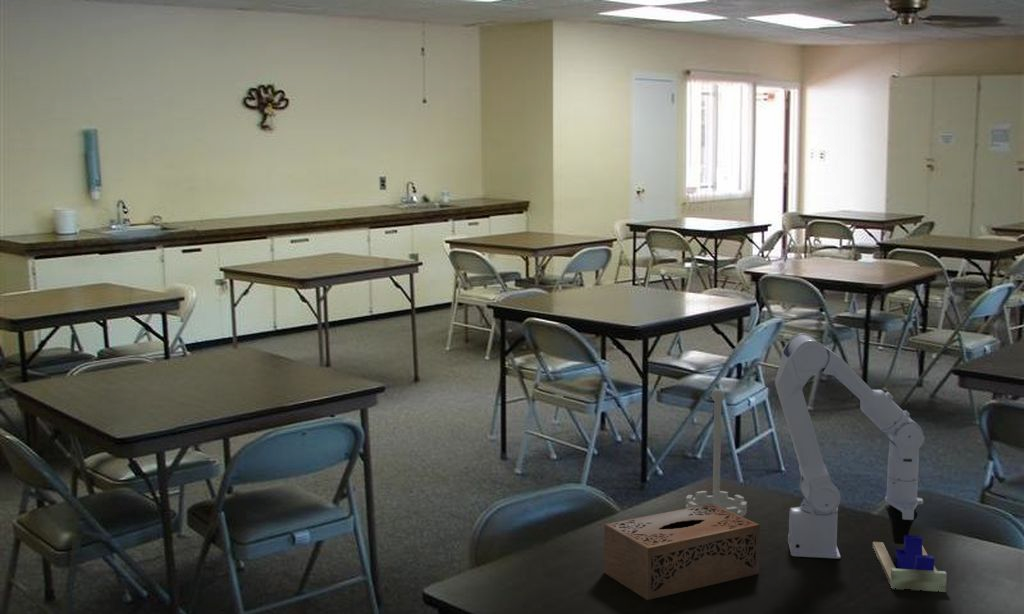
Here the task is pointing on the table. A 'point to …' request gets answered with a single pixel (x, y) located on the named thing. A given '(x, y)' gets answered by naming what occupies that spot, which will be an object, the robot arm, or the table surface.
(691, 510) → the tissue box cover
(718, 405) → the flag stand
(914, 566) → the blue stepped block
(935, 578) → the channel
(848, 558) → the table surface
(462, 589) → the table surface
